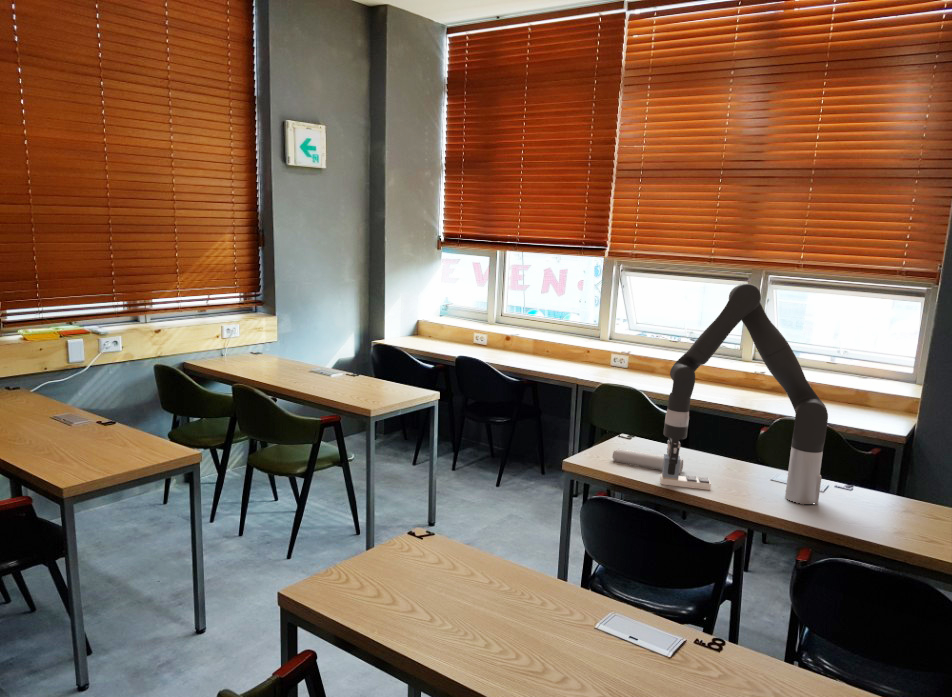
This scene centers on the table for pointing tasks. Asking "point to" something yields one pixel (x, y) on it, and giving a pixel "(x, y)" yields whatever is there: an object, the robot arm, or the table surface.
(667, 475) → the block
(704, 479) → the mark
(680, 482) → the board
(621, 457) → the tube
